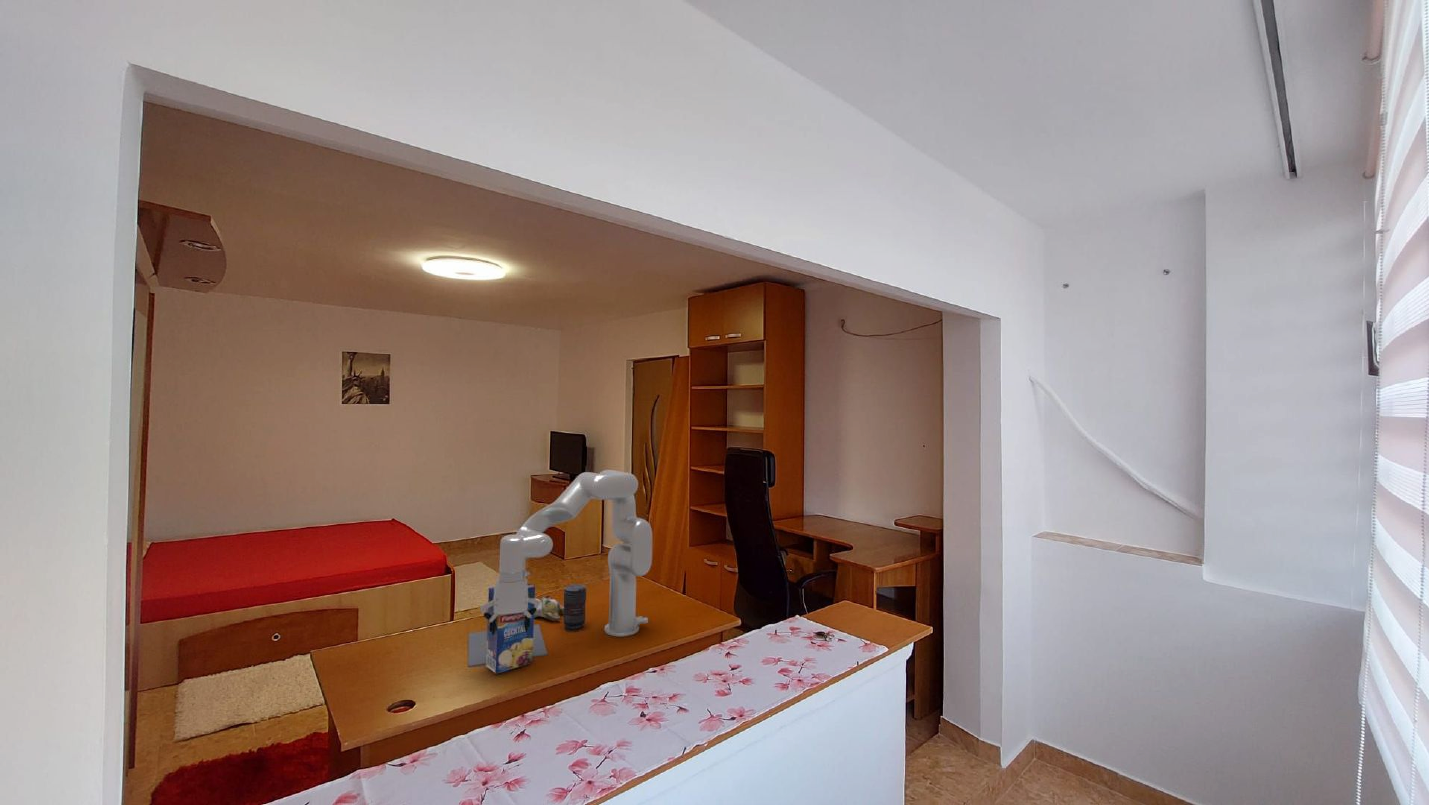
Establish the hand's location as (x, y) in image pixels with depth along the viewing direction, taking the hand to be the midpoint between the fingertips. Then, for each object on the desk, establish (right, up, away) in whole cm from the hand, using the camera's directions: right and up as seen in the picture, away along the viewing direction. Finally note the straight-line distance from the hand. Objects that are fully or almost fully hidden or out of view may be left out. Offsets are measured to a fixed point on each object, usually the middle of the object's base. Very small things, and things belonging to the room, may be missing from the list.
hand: (509, 631), depth 174 cm
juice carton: (-2, -12, +4) cm, 13 cm away
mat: (-8, -13, +20) cm, 25 cm away
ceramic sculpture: (-1, -13, +44) cm, 46 cm away
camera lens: (+11, -13, +35) cm, 39 cm away
